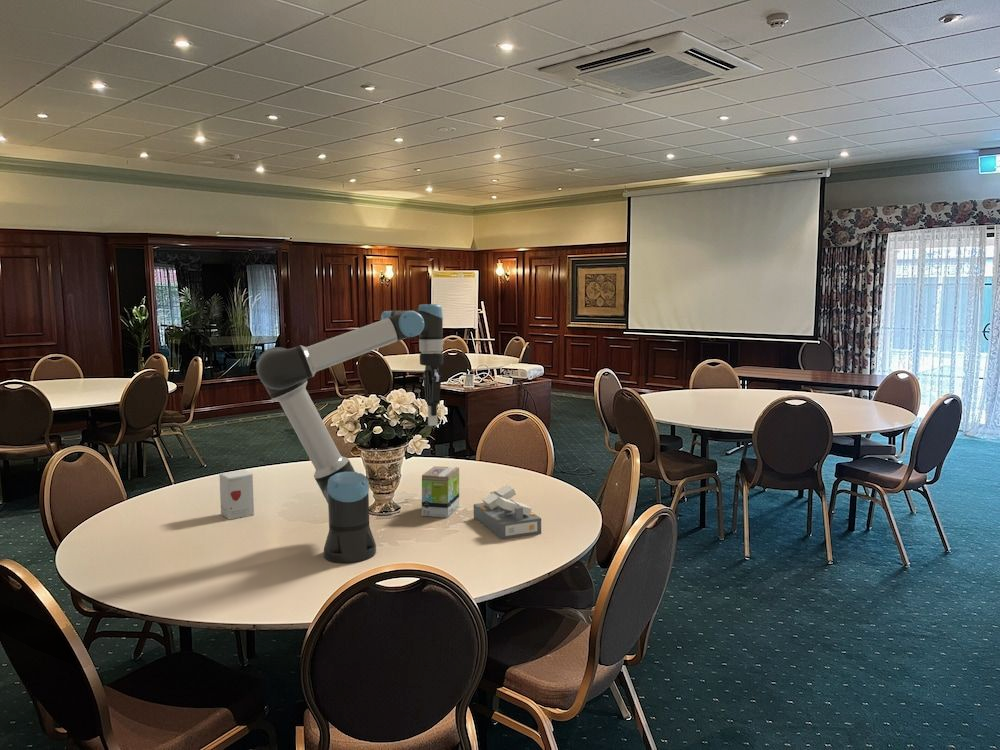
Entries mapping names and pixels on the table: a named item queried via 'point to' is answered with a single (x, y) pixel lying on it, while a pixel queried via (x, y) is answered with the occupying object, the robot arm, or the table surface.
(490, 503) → the rocker
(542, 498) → the table surface
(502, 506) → the rocker
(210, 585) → the table surface
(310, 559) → the table surface
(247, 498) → the supplement box
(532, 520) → the switch unit
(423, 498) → the tea box
